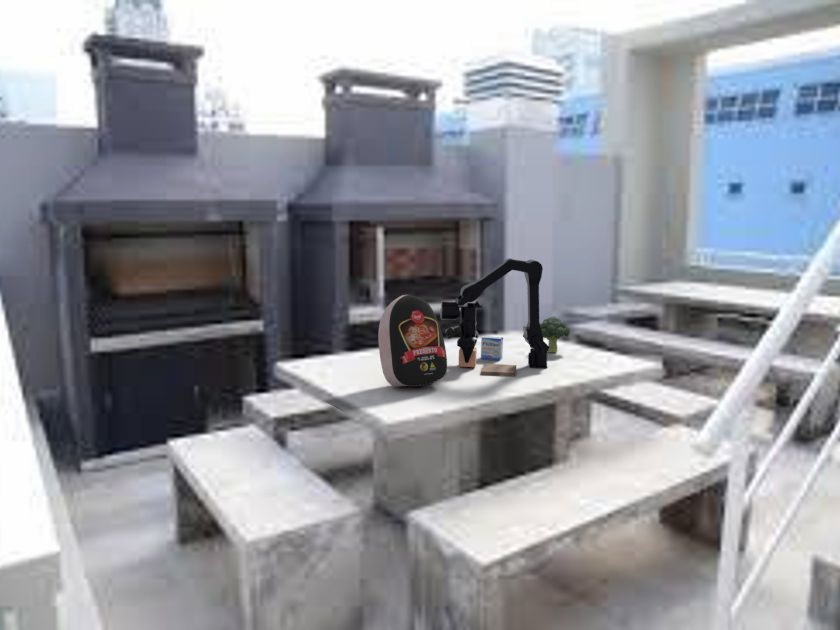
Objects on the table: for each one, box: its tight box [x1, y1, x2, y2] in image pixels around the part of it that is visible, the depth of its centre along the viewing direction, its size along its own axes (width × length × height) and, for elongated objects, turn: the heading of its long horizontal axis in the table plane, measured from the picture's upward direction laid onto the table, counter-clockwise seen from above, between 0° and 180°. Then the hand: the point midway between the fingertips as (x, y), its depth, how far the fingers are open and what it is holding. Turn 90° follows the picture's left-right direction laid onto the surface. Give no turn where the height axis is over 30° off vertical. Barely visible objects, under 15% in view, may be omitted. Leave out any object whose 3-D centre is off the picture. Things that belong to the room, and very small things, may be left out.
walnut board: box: [481, 363, 517, 377], centre depth 248 cm, size 12×12×1 cm
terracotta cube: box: [458, 347, 477, 368], centre depth 255 cm, size 6×6×6 cm
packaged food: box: [377, 294, 448, 387], centre depth 227 cm, size 22×20×30 cm
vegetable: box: [540, 316, 571, 353], centre depth 279 cm, size 12×13×15 cm
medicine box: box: [480, 335, 504, 361], centre depth 268 cm, size 8×4×9 cm, turn 73°
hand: (467, 360), depth 255 cm, fingers closed on terracotta cube, 6 cm apart
